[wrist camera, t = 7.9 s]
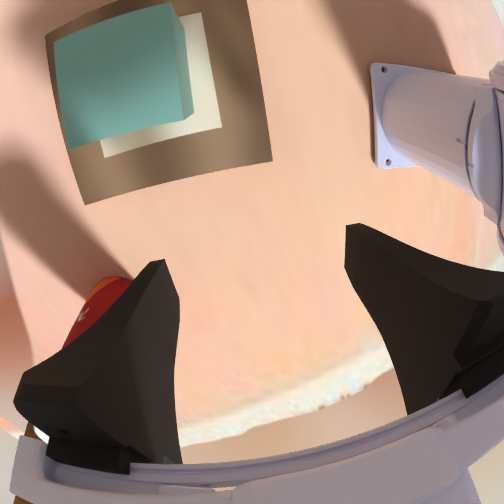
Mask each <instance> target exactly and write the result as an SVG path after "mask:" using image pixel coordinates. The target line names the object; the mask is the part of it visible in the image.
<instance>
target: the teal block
mask: <svg viewBox="0 0 504 504" xmlns="http://www.w3.org/2000/svg"><path fill="white" fill-rule="evenodd" d="M54 56H55V68H56V78H57V87H58V94H59V101H60V108H61V114H62V120H63V125H64V130H65V135H66V140H67V145H68V149H69V150H71V149H74V148H77V147H80V146H83V145H86V144H89V143H92V142H95V141H99V140H102V139H106V138H109V137H113V136H116V135H120V134H124V133H128V132H132V131H136V130H140V129H144V128H149V127H153V126H158V125H162V124H167V123H172V122H178V121H183V120H185V119H186V118H188V117H189V116H191V115H192V114H194V106H193V99H192V91H191V83H190V75H189V66H188V57H187V48H186V39H185V29H184V27H183V25H182V23H181V21H180V20H179V18H178V16H177V14H176V12H175V10H174V8H173V6H172V4H171V2H169V3H164V4H160V5H156V6H151V7H147V8H144V9H140V10H136V11H133V12H129V13H126V14H123V15H120V16H116V17H113V18H110V19H108V20H105V21H102V22H99V23H97V24H94V25H91V26H89V27H86V28H84V29H81V30H79V31H77V32H74V33H72V34H70V35H68V36H66V37H63V38H61V39H59V40H57V41H55V42H54Z"/></svg>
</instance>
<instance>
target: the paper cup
mask: <svg viewBox="0 0 504 504" xmlns="http://www.w3.org/2000/svg"><path fill="white" fill-rule="evenodd" d="M131 283H132V281H130V280H128V279H125V278H120V277H109V278H106V279H103V280H101V281H100V282H99V283H98V284H97V285H96V286H95V288H94V289H93V291H92V292H91V294H90V296H89V297H88V299H87V301H86V302H85V304H84V306H83V308H82V310H81V311H80V313H79V315H78V317H77V319H76V321H75V323H74V325H73V327H72V329H71V331H70V333H69V335H68V337H67V339H66V341H65V343H64V345H63V347H62V349H63V348H64V347H66V346H67V345H69V344H70V343H71V342H72V341H74V340H75V339H76V338H77V337H78V336H80V335H81V334H82V333H83V332H85V331H86V330H87V329H88V328H89V327H90V326H92V325H93V324H94V323H95V322H96V321H97V320H98V319H99V318H100V317H101V316H102V315H103V314H104V313H105V312H106V311H107V310H108V309H109V308H110V307H111V306H112V304H113V303H114V302H115V301H116V300H117V299H118V298H119V297H120V296H121V294H122V293H123V292H124V291H125V290H126V289H127V288H128V286H129V285H130V284H131ZM62 349H61V350H62ZM34 431H35V433H36V434H37V436H38V437H39V438H41V439H42V440H43V441H44V442H46V443H47V444H48V441H49V436H47V435H46V434H45V433H43V432H42V431H41V430H39V429H38V428H37V427H35V426H34Z"/></svg>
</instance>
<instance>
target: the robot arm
mask: <svg viewBox="0 0 504 504" xmlns="http://www.w3.org/2000/svg"><path fill="white" fill-rule="evenodd" d="M382 67H383V68H384V70H385V71H384V73H383V72H382V70H381V68H382ZM370 74H371V84H372V96H373V111H374V133H375V165H376V166H377V167H378V168H380V169H389V168H401V167H414V166H420V167H422V168H424V169H426V170H428V171H430V172H432V173H433V174H435V175H437V176H439V177H441V178H443V179H444V180H446V181H448V182H450V183H451V184H453V185H455V186H456V187H458V188H460V189H462V190H463V191H465V192H466V193H468V194H470V195H471V196H473V197H474V198H476V199H478V200H479V201H481V202H482V204H483V207H484V216H485V217H487V218H488V219H490V220H491V221H492V222H494V223H495V224H496V225H498V226H497V240H498V244H499V247H500V249H501V251H502V253H503V254H504V61H500V62H497V64H496V65H495V67H494V68H493V69H492V70H490V72H489V77H490V80H488V79H482V78H475V77H468V76H460V75H454V74H449V73H445V72H440V71H435V70H430V69H424V68H418V67H412V66H405V65H397V64H388V63H378V62H377V63H372V64H371V66H370ZM387 159H388V163H387V164H386V160H387ZM344 268H345V270H346V272H347V275H348V277H349V279H350V281H351V284H352V286H353V288H354V289H355V291H356V293H357V294H358V296H359V298H360V299H361V301H362V303H363V304H364V306H365V307H366V309H367V311H368V312H369V314H370V316H371V317H372V319H373V321H374V322H375V324H376V326H377V328H378V330H379V331H380V333H381V335H382V338H383V340H384V342H385V345H386V347H387V350H388V352H389V355H390V357H391V360H392V363H393V366H394V368H395V371H396V374H397V377H398V381H399V384H400V387H401V391H402V394H403V398H404V402H405V407H406V411H407V416H406V417H403V418H401V419H399V420H396V421H394V422H391V423H389V424H386V425H384V426H381V427H379V428H376V429H373V430H370V431H367V432H365V433H361V434H358V435H355V436H352V437H350V438H346V439H343V440H340V441H336V442H333V443H329V444H325V445H321V446H318V447H313V448H309V449H305V450H300V451H296V452H291V453H287V454H281V455H275V456H269V457H263V458H257V459H249V460H241V461H232V462H221V463H207V464H183V463H182V457H181V452H180V445H179V439H178V431H177V422H176V411H175V396H174V366H175V357H176V348H177V339H178V331H179V322H180V302H179V296H178V294H177V291H176V289H175V286H174V283H173V281H172V278H171V275H170V273H169V270H168V267H167V265H166V262H165V259H162V260H157V261H152V262H149V263H148V264H147V265H146V267H145V268H144V269H143V270H142V271H141V272H140V273H139V275H138V276H137V277H136V278H135V279H134V280H133V282H132V283H131V284H130V285H129V286H128V288H127V289H126V290H125V291H124V292H123V293H122V294H121V296H120V297H119V298H118V299H117V300H116V301H115V302H114V303H113V304H112V306H111V307H110V308H109V309H108V310H107V311H106V312H105V313H104V314H103V315H102V316H101V317H100V318H99V319H98V320H97V321H96V322H95V323H94V324H93V325H92V326H90V327H89V328H88V329H87V330H86V331H85V332H83V333H82V334H81V335H80V336H78V337H77V338H76V339H75V340H74V341H72V342H71V343H70V344H69V345H67V346H66V347H64V348H63V349H62V350H60V351H59V352H57V353H56V354H54V355H53V356H51V357H50V358H48V359H47V360H45V361H43V362H41V363H40V364H38V365H36V366H34V367H33V368H31V369H29V370H27V371H26V372H24V373H23V375H22V378H21V380H20V383H19V386H18V389H17V392H16V394H15V397H14V401H13V403H14V405H15V407H16V409H17V411H18V412H19V413H20V414H21V415H22V416H23V417H24V418H25V419H26V420H28V421H29V422H30V423H31V424H33V425H34V426H35V427H37V428H38V429H39V430H41V431H42V432H43V433H45V434H46V435H47V436H49V441H48V444H47V443H45V442H43V441H40V440H37V439H34V438H30V437H26V436H23V435H21V436H20V437H19V442H18V446H17V451H16V455H15V460H14V466H13V471H12V477H11V483H10V492H11V493H13V494H15V495H17V496H19V497H21V498H23V499H25V500H27V501H29V502H31V503H33V504H481V502H480V499H479V496H478V494H477V491H476V488H475V486H474V483H473V480H472V478H471V475H470V473H469V471H468V468H467V467H469V466H470V465H472V464H473V463H474V462H476V461H477V460H478V459H480V458H481V457H482V456H484V455H485V454H486V453H488V452H489V451H490V450H491V449H492V448H494V447H495V446H496V445H497V444H499V443H500V442H501V441H502V440H503V439H504V272H499V271H491V270H485V269H480V268H475V267H470V266H466V265H463V264H459V263H455V262H452V261H448V260H445V259H442V258H440V257H437V256H434V255H431V254H428V253H426V252H423V251H421V250H419V249H416V248H414V247H412V246H409V245H407V244H405V243H403V242H401V241H399V240H397V239H394V238H392V237H390V236H388V235H386V234H384V233H382V232H380V231H378V230H376V229H373V228H371V227H369V226H366V225H364V224H361V223H357V224H351V225H346V242H345V265H344ZM234 486H237V487H236V488H235V489H233V490H226V491H217V492H215V490H214V489H212V488H218V487H219V488H220V487H234Z"/></svg>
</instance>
